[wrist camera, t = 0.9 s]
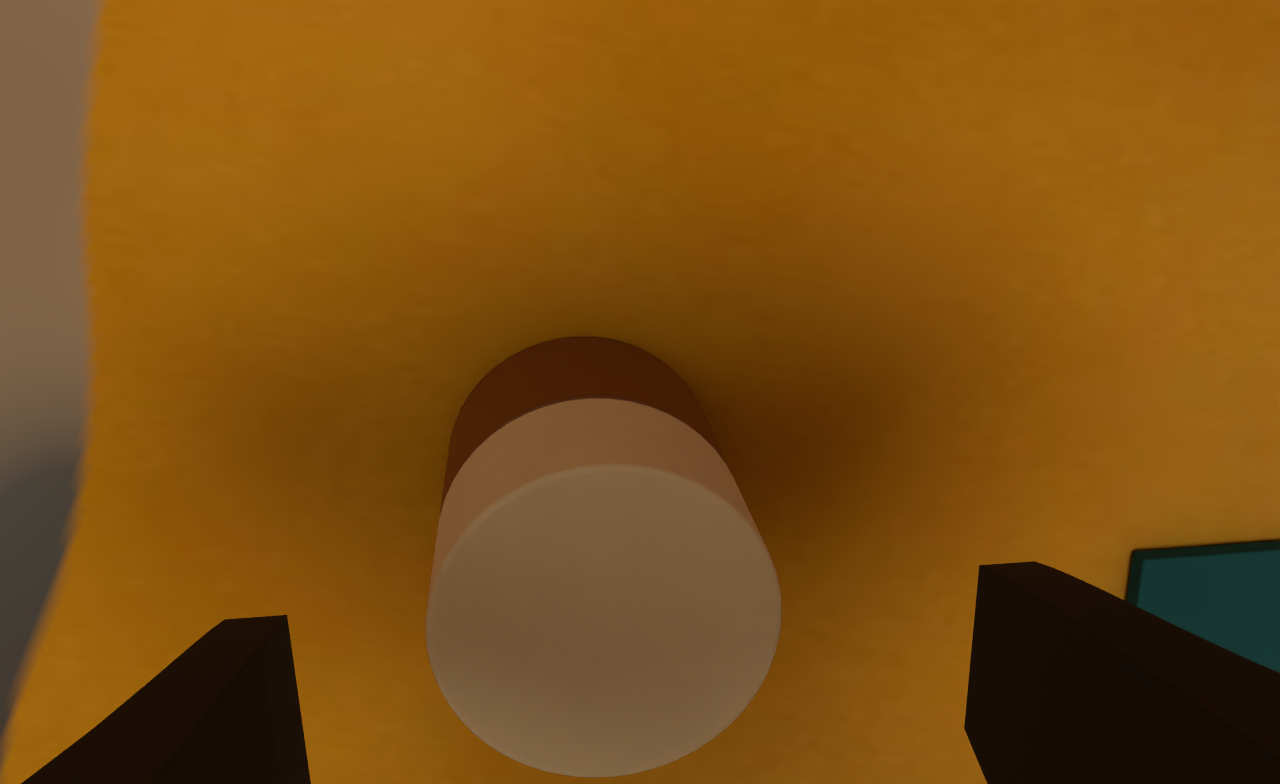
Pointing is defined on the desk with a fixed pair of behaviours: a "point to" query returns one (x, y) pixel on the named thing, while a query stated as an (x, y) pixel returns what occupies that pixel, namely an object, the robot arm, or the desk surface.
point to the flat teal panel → (1215, 594)
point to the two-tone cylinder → (595, 566)
